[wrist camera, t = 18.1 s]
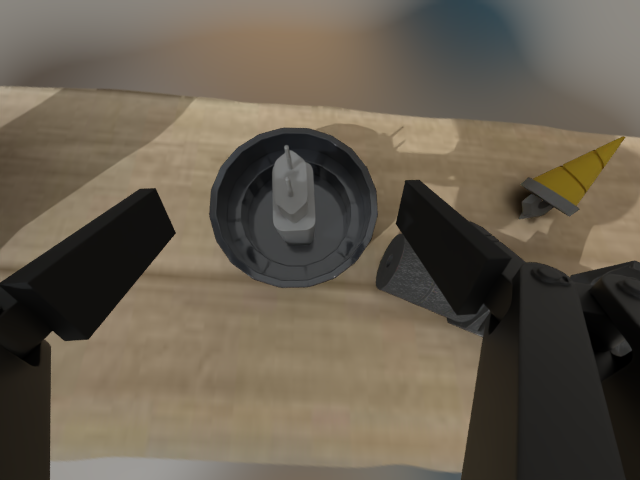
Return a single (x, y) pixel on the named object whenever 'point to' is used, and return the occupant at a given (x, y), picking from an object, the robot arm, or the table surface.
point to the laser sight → (419, 288)
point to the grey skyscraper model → (293, 199)
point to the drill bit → (566, 183)
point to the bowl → (257, 209)
